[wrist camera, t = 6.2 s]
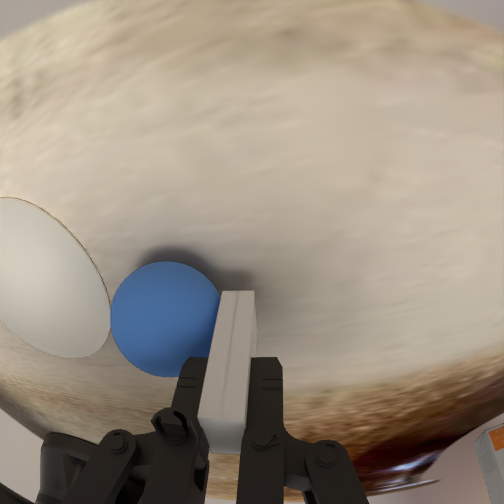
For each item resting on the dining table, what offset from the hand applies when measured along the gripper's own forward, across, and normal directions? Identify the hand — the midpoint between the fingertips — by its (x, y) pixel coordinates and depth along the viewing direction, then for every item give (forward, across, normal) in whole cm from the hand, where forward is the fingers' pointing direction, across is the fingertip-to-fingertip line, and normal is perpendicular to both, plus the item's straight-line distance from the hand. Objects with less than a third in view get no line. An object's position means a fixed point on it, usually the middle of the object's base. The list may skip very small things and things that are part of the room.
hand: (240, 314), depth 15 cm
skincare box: (+3, -31, +26) cm, 41 cm away
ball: (0, +3, 0) cm, 3 cm away
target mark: (+2, +15, 0) cm, 15 cm away
